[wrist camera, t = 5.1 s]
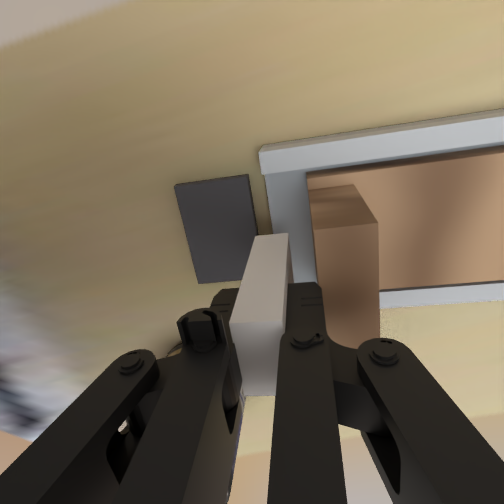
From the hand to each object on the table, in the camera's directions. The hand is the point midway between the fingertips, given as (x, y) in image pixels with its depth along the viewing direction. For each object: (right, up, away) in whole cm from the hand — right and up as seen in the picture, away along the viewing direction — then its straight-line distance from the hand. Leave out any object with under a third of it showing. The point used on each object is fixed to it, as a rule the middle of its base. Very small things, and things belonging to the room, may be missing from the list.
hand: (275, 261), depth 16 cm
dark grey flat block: (-3, +2, +4) cm, 5 cm away
